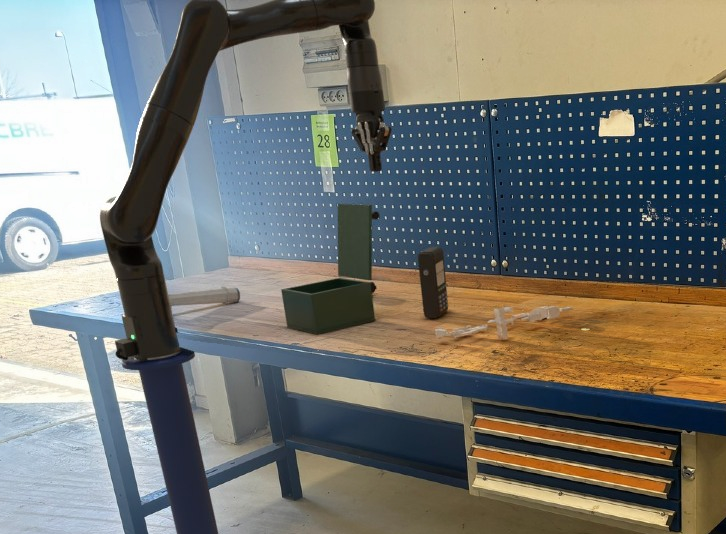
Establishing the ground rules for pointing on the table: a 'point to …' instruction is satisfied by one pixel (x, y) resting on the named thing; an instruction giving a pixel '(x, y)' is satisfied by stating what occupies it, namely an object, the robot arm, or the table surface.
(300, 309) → the bin
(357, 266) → the bin lid
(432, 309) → the card reader
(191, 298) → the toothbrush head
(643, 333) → the table surface
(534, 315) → the grey elongated piece
